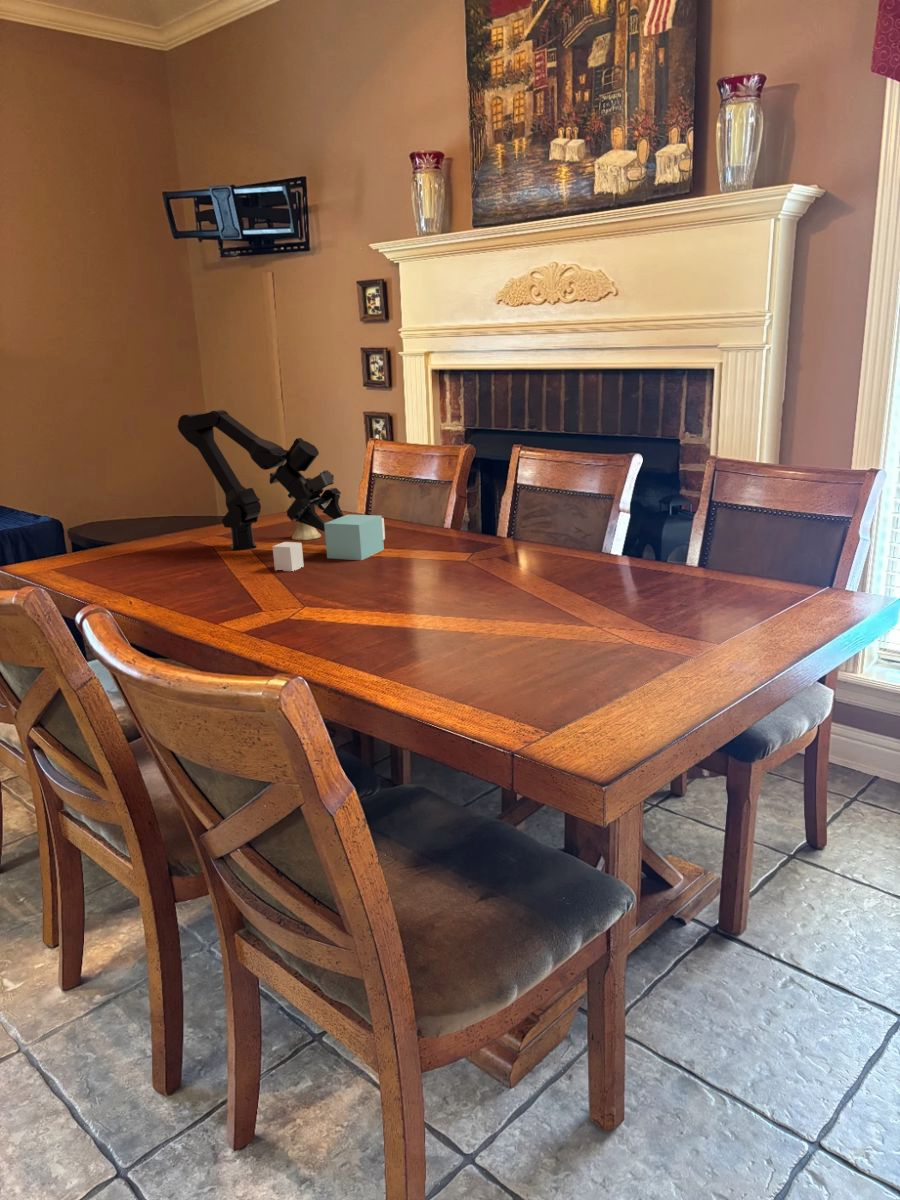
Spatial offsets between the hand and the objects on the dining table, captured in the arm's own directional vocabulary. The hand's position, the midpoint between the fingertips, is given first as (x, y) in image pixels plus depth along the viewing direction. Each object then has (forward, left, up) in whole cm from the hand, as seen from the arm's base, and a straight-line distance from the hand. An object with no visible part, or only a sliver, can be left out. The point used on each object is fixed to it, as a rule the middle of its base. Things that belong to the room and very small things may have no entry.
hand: (336, 527), depth 219 cm
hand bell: (-24, -4, -7) cm, 25 cm away
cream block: (-10, +12, -7) cm, 17 cm away
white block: (+11, -14, -7) cm, 19 cm away
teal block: (+4, +4, -7) cm, 9 cm away
